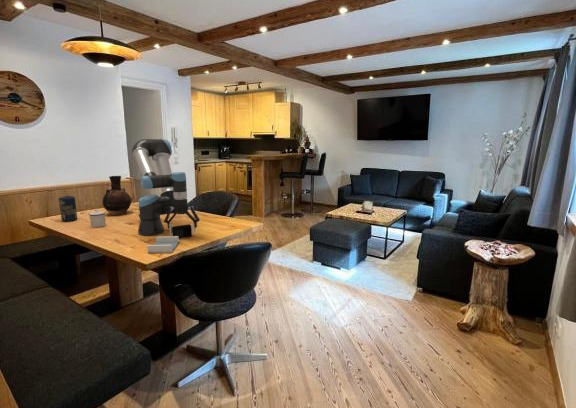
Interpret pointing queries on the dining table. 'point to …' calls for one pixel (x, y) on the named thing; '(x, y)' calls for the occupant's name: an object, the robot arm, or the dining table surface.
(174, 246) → the cradle
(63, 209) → the canister
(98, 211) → the teacup with lid
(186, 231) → the digital camera
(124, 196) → the ceramic vessel
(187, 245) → the dining table surface
